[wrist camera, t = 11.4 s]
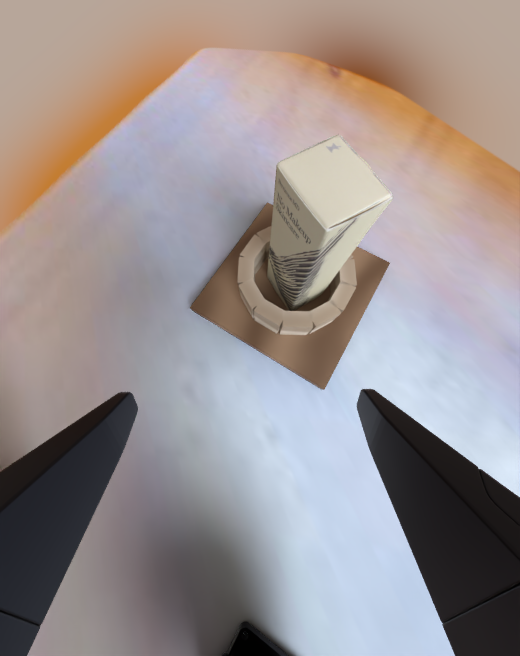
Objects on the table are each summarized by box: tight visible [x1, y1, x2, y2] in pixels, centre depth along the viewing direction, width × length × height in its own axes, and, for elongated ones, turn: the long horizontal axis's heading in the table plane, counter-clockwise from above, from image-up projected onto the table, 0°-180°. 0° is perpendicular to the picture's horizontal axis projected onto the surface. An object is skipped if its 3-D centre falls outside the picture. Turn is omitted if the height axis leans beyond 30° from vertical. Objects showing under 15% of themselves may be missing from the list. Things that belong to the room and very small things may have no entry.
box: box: [267, 135, 393, 311], centre depth 17 cm, size 5×4×13 cm
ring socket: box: [190, 203, 390, 390], centre depth 23 cm, size 16×16×4 cm
